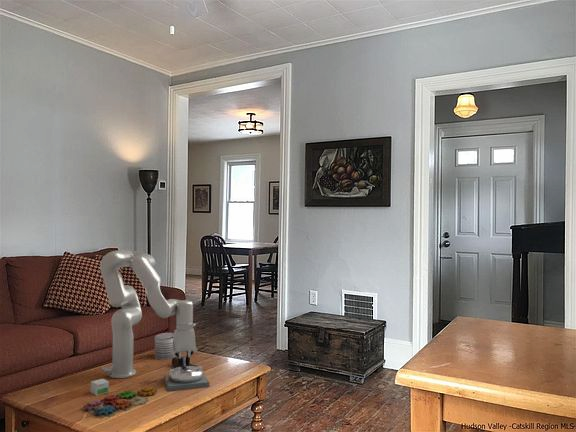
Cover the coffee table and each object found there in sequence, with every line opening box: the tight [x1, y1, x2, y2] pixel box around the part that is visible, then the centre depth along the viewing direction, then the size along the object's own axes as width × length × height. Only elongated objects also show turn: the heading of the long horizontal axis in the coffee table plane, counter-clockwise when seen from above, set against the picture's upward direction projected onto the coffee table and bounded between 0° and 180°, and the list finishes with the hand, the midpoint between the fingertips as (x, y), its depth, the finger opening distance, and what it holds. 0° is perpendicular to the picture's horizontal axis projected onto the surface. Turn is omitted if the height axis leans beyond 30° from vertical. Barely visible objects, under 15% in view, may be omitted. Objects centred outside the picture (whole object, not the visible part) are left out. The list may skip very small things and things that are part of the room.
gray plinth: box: [163, 372, 210, 392], centre depth 216 cm, size 18×18×5 cm
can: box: [154, 332, 177, 360], centre depth 257 cm, size 11×11×12 cm
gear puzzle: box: [81, 386, 158, 419], centre depth 191 cm, size 31×16×4 cm, turn 144°
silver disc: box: [168, 355, 204, 383], centre depth 216 cm, size 15×15×8 cm
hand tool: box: [171, 356, 198, 368], centre depth 236 cm, size 19×4×5 cm, turn 46°
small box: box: [90, 378, 110, 396], centre depth 201 cm, size 6×6×5 cm
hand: (183, 365), depth 221 cm, fingers open, 2 cm apart
